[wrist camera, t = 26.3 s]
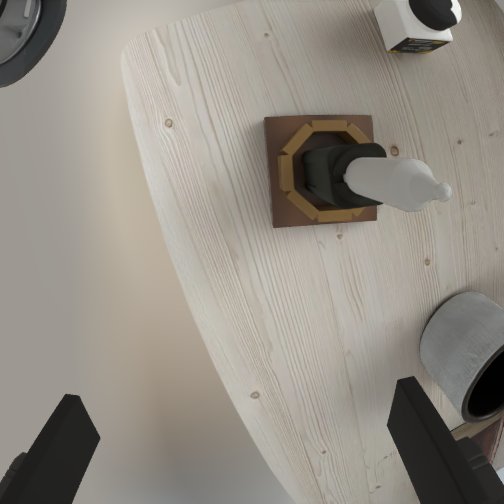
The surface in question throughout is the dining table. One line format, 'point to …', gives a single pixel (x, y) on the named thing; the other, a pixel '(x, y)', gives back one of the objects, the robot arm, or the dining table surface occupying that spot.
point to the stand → (292, 169)
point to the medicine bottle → (416, 24)
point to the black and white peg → (370, 178)
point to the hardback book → (483, 434)
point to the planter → (467, 355)
